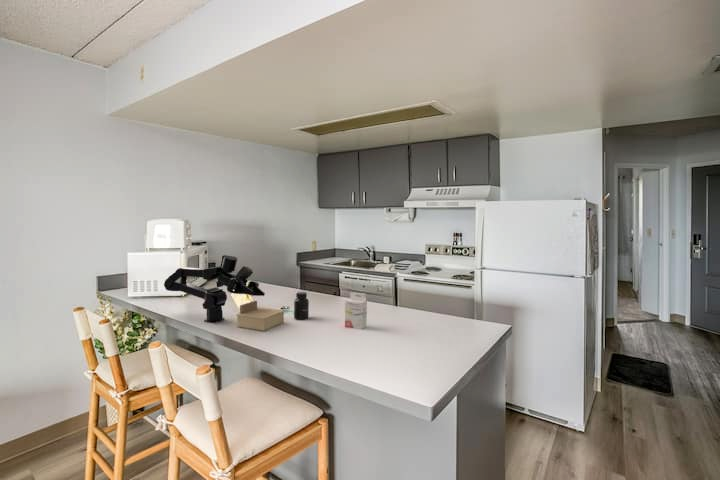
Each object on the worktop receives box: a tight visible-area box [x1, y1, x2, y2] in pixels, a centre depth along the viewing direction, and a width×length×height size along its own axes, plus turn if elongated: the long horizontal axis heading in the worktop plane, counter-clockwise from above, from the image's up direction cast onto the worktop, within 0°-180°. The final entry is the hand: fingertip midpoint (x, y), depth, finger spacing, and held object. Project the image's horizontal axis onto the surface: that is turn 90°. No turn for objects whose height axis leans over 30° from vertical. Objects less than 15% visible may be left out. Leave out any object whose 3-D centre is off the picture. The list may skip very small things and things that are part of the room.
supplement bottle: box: [293, 291, 310, 321], centre depth 176 cm, size 7×7×12 cm
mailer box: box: [236, 312, 285, 333], centre depth 164 cm, size 14×14×5 cm
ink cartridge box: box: [344, 291, 368, 330], centre depth 162 cm, size 9×5×15 cm, turn 65°
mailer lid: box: [236, 300, 285, 320], centre depth 164 cm, size 15×15×4 cm
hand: (259, 293), depth 161 cm, fingers open, 9 cm apart
